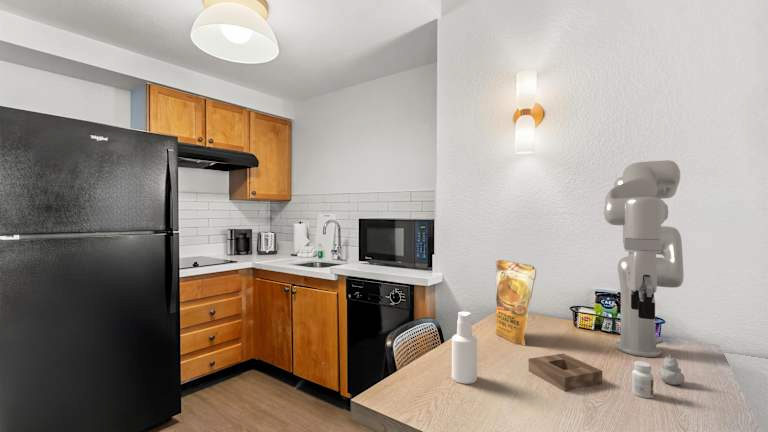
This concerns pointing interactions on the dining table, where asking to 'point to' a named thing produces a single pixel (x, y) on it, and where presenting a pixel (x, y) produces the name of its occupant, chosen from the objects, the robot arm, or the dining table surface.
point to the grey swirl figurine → (671, 372)
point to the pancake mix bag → (513, 299)
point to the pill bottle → (642, 380)
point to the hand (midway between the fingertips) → (642, 313)
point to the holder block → (565, 371)
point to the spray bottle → (464, 351)
